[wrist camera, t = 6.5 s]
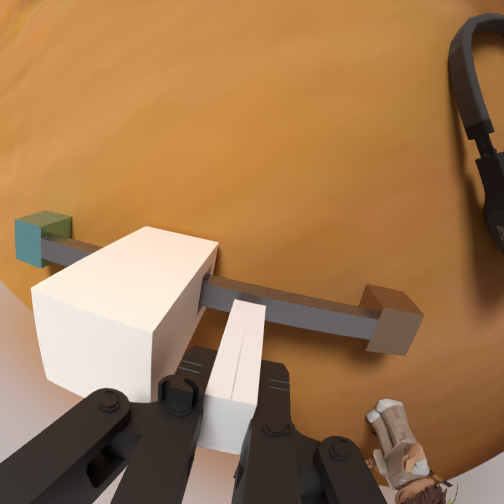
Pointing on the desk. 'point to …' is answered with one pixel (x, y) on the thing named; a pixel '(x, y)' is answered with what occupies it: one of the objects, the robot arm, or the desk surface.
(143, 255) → the sleeve
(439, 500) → the toy
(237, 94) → the desk surface
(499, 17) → the headphones
